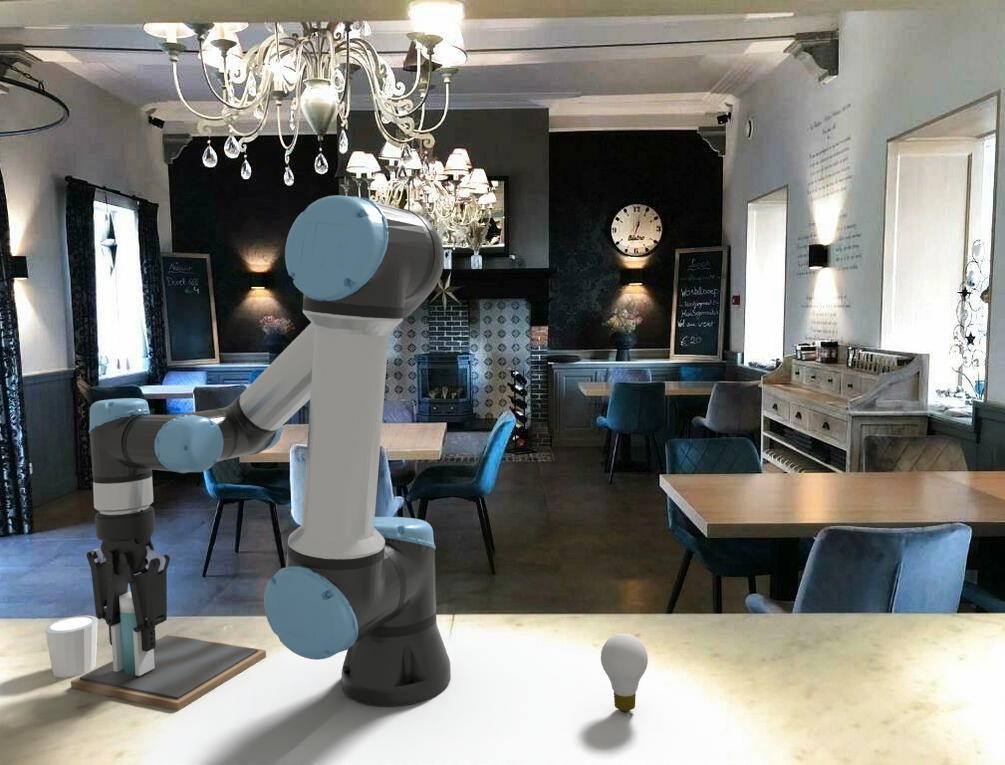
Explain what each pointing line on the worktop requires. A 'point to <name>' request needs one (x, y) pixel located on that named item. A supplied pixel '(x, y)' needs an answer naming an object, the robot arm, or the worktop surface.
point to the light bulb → (624, 668)
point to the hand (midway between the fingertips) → (134, 669)
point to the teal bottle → (127, 632)
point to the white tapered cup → (72, 645)
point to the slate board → (173, 672)
